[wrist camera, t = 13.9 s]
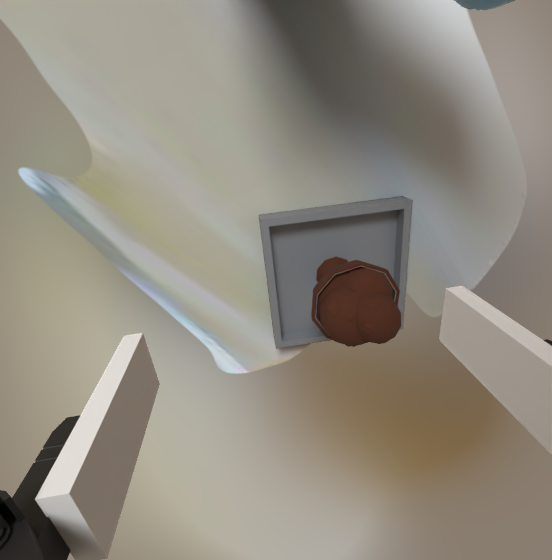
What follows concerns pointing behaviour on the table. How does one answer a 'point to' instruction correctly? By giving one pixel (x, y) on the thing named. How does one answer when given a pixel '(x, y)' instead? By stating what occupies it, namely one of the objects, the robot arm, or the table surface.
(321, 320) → the ice cream bowl
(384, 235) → the tray
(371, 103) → the table surface
